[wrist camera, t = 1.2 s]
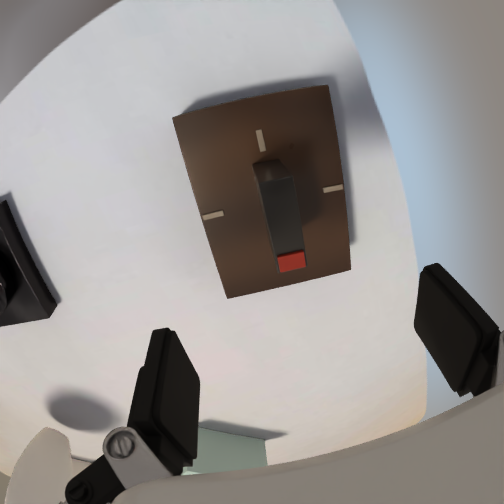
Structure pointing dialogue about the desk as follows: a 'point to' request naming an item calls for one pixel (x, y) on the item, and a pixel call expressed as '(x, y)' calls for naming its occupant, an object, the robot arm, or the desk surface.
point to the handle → (281, 214)
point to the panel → (245, 190)
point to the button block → (20, 278)
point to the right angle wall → (226, 453)
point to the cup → (42, 470)
